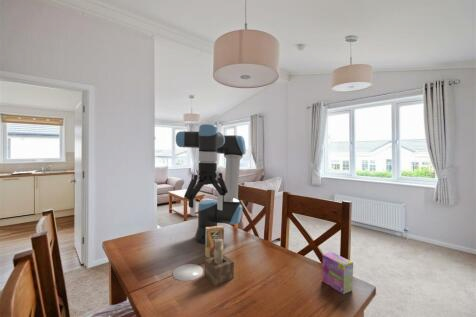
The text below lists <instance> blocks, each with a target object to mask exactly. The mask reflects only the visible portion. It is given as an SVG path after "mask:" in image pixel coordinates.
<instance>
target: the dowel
mask: <svg viewBox="0 0 476 317" xmlns="http://www.w3.org/2000/svg"><path fill="white" fill-rule="evenodd" d="M223 255H224V246H223V239H215V247H214V262H215V263H216V264H217V265H218V264H221V263H223Z"/></svg>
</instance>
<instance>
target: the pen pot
mask: <svg viewBox="0 0 476 317" xmlns="http://www.w3.org/2000/svg"><path fill="white" fill-rule="evenodd" d="M203 273H204V277H205V278H206V279H207V280H208V281H209V282H211V284H213V285H214V286H215V287H216V286H219V285H221V284H224V283H227V282H228V281H231V280H233V279H234V277H235V262H234V261H233V260H232V259H231V258H229V257H228V256H226V255H224V254H223V263H221V264H218V265H217V264H216V263H215V262H214V257H207V258H205V259H204V269H203Z"/></svg>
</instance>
